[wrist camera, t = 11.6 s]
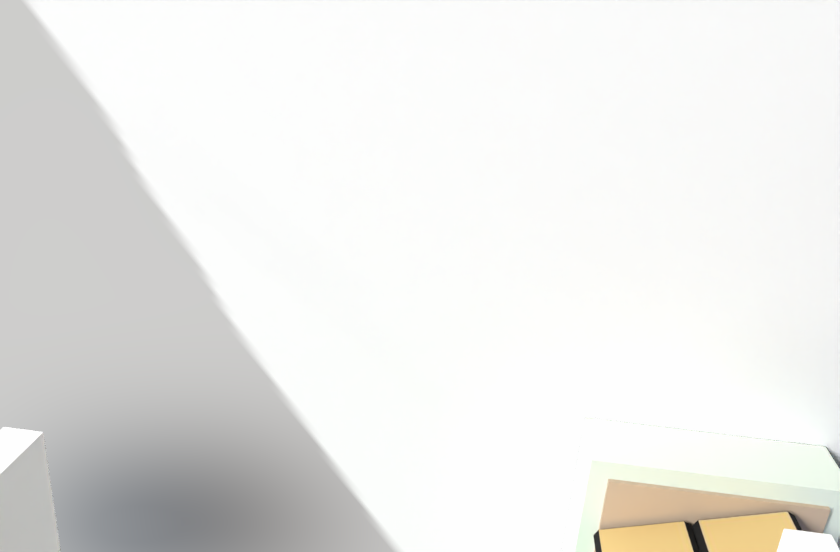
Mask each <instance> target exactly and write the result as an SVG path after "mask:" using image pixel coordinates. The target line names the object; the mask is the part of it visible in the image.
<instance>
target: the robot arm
mask: <svg viewBox="0 0 840 552" xmlns="http://www.w3.org/2000/svg"><path fill="white" fill-rule="evenodd" d="M60 550H61V549H60V542H59V535H58V529H57V522H56V515H55V508H54V502H53V495H52V488H51V481H50V474H49V468H48V461H47V454H46V447H45V441H44V434H43V432H39V431H31V430H23V429H15V428H8V427H3V428H2V429H1V430H0V552H60ZM777 552H840V550H839V548H838V546H837V544H836V542H835V540H834V539H833V537H832V535H830V534H822V533H815V532H807V531H799V530H792V529H784V530H783V533H782V537H781V540H780V543H779V546H778V549H777Z"/></svg>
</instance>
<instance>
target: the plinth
mask: <svg viewBox="0 0 840 552" xmlns="http://www.w3.org/2000/svg"><path fill="white" fill-rule="evenodd" d="M785 511H788V512H790V513H791V514H793V515H795V517H796V519H797V521H798V523H799V525H800V527H801V529H802V531H807V532H815V533H822V534H830V535H832V537H833V539H834V540H835V542H836V544H837V543H838V541H839V538H840V469H839V467H838V466H837V464H836V462H835V461H834V459H833V458H832V456H831V455H830V453H829V452H828V450H827V448H826V447H824V446H816V445H808V444H800V443H791V442H783V441H775V440H767V439H758V438H750V437H742V436H733V435H725V434H717V433H709V432H700V431H692V430H684V429H675V428H667V427H659V426H651V425H642V424H634V423H626V422H617V421H609V420H601V419H593V418H585V423H584V428H583V434H582V440H581V446H580V451H579V457H578V463H577V469H576V474H575V480H574V486H573V491H572V497H571V503H570V509H569V514H568V520H567V526H566V532H565V537H564V543H563V549H562V552H596V551H595V544H594V537H593V535H594V534H595V533H596V532H597V531H598V530H602V529H612V528H622V527H632V526H642V525H652V524H662V523H672V522H682V521H685V522H686V523H688V524H690V525H691V526H692V525H693V524H694V523H695V522H696V521H698V520H705V519H715V518H725V517H735V516H745V515H755V514H765V513H775V512H785Z"/></svg>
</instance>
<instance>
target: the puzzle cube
mask: <svg viewBox="0 0 840 552" xmlns="http://www.w3.org/2000/svg"><path fill="white" fill-rule="evenodd" d="M784 529H792V530H799V531H802V529H801V527H800V525H799V523H798V521H797V519H796V517H795V515H793V514H791V513H790V512H788V511H785V512H775V513H765V514H755V515H745V516H735V517H725V518H715V519H705V520H698V521H696V522H695V523H694V524H693V525H692V526H691V525H690V524H688V523H686V522H685V521H682V522H672V523H662V524H652V525H642V526H632V527H622V528H612V529H602V530H598V531H597V532H596V533H595V534H594V535H593V537H594V544H595V551H596V552H777V549H778V546H779V543H780V540H781V537H782V533H783V530H784Z"/></svg>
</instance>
